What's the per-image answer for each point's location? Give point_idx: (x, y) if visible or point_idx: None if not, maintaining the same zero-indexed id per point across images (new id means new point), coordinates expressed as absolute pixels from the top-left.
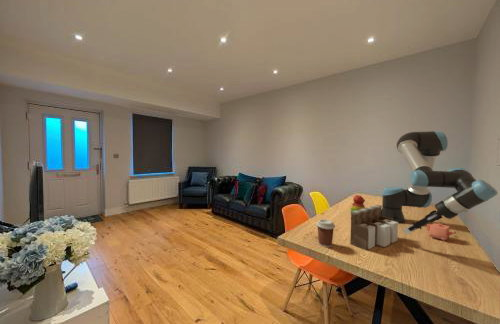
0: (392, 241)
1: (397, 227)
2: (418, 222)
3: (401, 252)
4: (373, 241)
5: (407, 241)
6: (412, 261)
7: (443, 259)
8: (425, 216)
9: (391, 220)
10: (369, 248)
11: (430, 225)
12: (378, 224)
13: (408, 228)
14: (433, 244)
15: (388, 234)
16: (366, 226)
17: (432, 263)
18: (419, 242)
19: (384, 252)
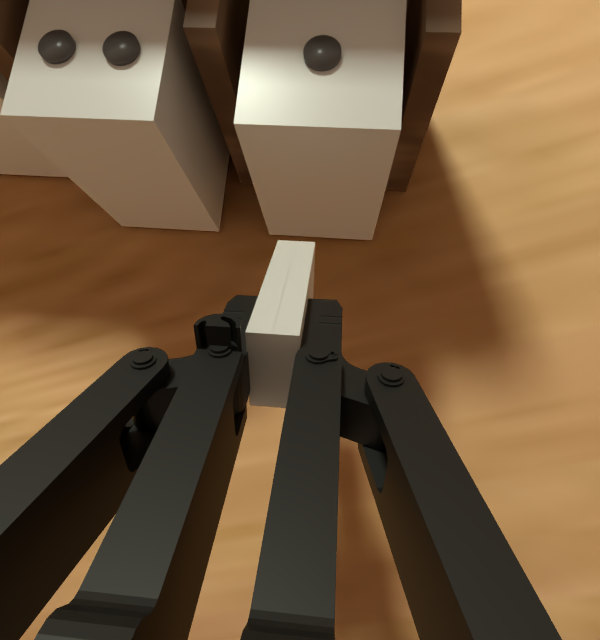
0: (269, 229)
1: (378, 172)
2: (41, 448)
3: (128, 340)
4: (31, 150)
5: (434, 300)
6: (15, 442)
7: (249, 608)
8: (46, 625)
9: (420, 51)
10: (3, 173)
11: None
12: (52, 31)
13: (230, 301)
14: (577, 478)
15: (155, 181)
16: None
17: (90, 556)
18: (509, 377)
19: (30, 261)
